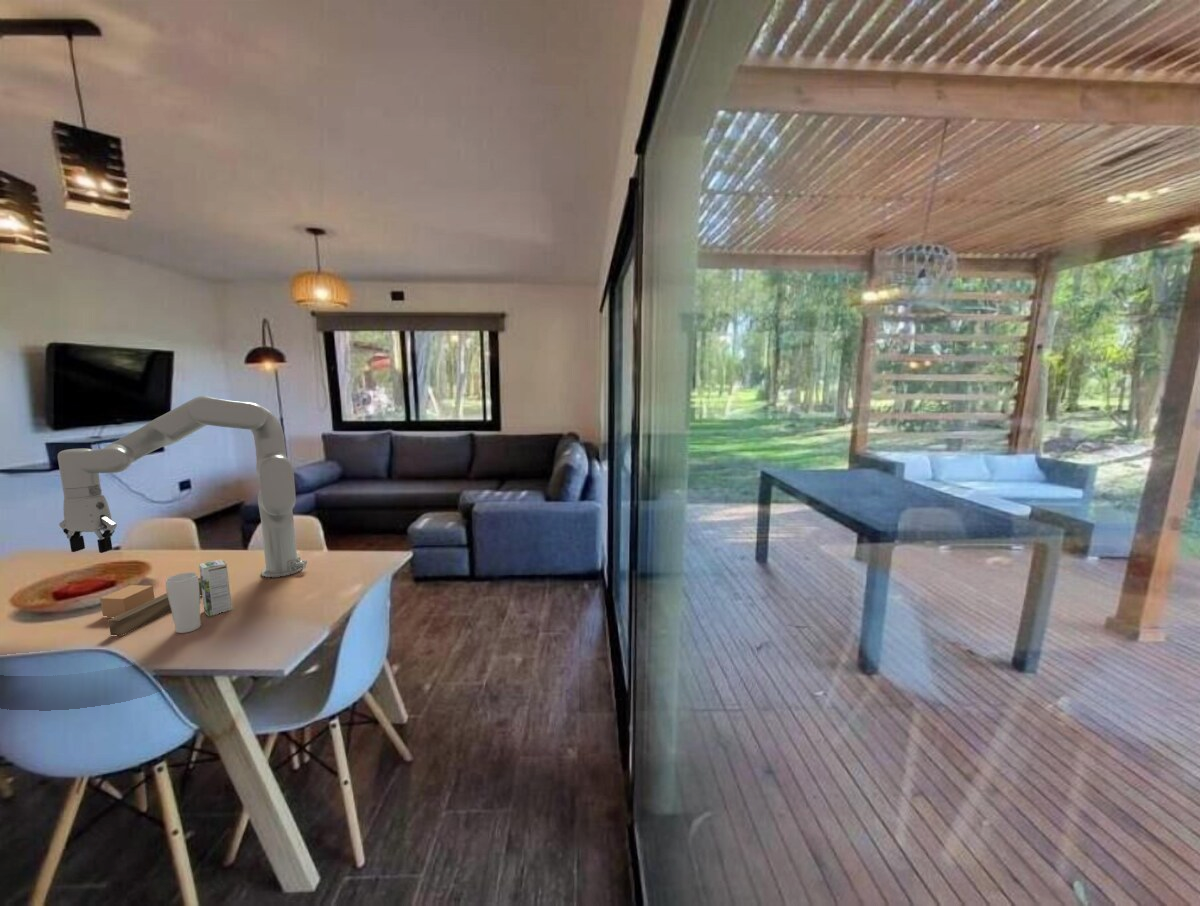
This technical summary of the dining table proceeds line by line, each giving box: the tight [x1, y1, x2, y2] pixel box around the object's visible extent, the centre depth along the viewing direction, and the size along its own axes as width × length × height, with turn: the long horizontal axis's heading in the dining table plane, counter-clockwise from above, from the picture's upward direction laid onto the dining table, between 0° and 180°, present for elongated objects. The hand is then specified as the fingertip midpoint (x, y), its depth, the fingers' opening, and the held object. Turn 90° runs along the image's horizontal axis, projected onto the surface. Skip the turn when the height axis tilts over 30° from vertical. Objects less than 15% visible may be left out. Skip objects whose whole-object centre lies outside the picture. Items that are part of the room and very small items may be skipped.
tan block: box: [99, 584, 156, 617], centre depth 149 cm, size 7×9×6 cm
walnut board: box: [107, 577, 202, 637], centre depth 148 cm, size 3×28×4 cm, turn 175°
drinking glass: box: [165, 572, 202, 634], centre depth 137 cm, size 7×7×15 cm
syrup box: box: [198, 559, 232, 617], centre depth 148 cm, size 6×6×14 cm
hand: (92, 550), depth 147 cm, fingers open, 8 cm apart
